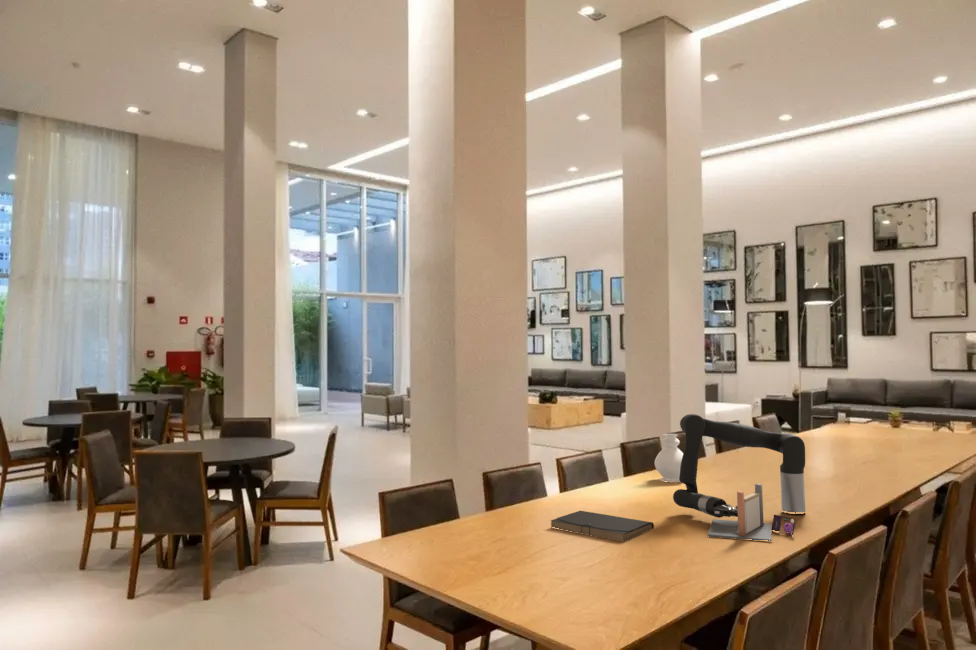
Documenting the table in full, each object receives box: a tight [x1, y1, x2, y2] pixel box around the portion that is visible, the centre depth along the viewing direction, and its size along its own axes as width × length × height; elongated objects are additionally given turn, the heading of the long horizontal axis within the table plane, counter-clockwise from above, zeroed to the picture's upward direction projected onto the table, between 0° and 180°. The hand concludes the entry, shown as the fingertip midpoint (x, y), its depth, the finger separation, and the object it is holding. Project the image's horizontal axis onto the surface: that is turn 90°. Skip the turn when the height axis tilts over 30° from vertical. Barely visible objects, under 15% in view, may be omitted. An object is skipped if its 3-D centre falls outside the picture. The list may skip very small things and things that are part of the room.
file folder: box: [550, 510, 655, 543], centre depth 258 cm, size 33×4×24 cm
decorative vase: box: [654, 433, 684, 483], centre depth 352 cm, size 18×18×25 cm
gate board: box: [707, 483, 773, 542], centre depth 250 cm, size 24×22×17 cm
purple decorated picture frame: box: [771, 514, 796, 536], centre depth 246 cm, size 7×5×9 cm
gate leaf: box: [744, 491, 760, 533], centre depth 247 cm, size 14×2×13 cm, turn 137°
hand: (743, 515), depth 246 cm, fingers closed
